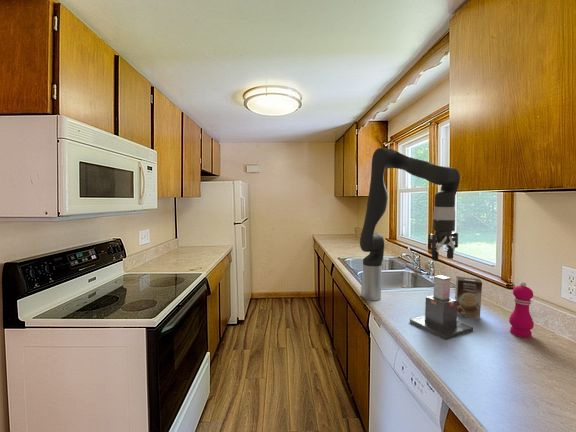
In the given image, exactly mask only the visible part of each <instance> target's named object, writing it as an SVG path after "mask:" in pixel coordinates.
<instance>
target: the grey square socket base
mask: <svg viewBox="0 0 576 432" xmlns="http://www.w3.org/2000/svg"><path fill="white" fill-rule="evenodd" d="M424 305H425V307H424V315H421V316H416V317H413V318H409V323H410V324H412V325H414V326H416V327H419V329H422V330H423V331H427V332H428V333H430V334H433V335H434V336H437V337H439V338H440V339H443V340H445V341H446V340H449V339H453V338H456V337H458V336H462V335H466V334H468V333H471V332H472V333H473V332H474V327H473V326H471V325H468V324H465V323H464V322H461V321H459V320H458V316H457V305H458V300H455V298H452V297H450V299H449V300H448V301H440V300H437V299H434V294H433V295H428V296H425V304H424Z"/></svg>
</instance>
